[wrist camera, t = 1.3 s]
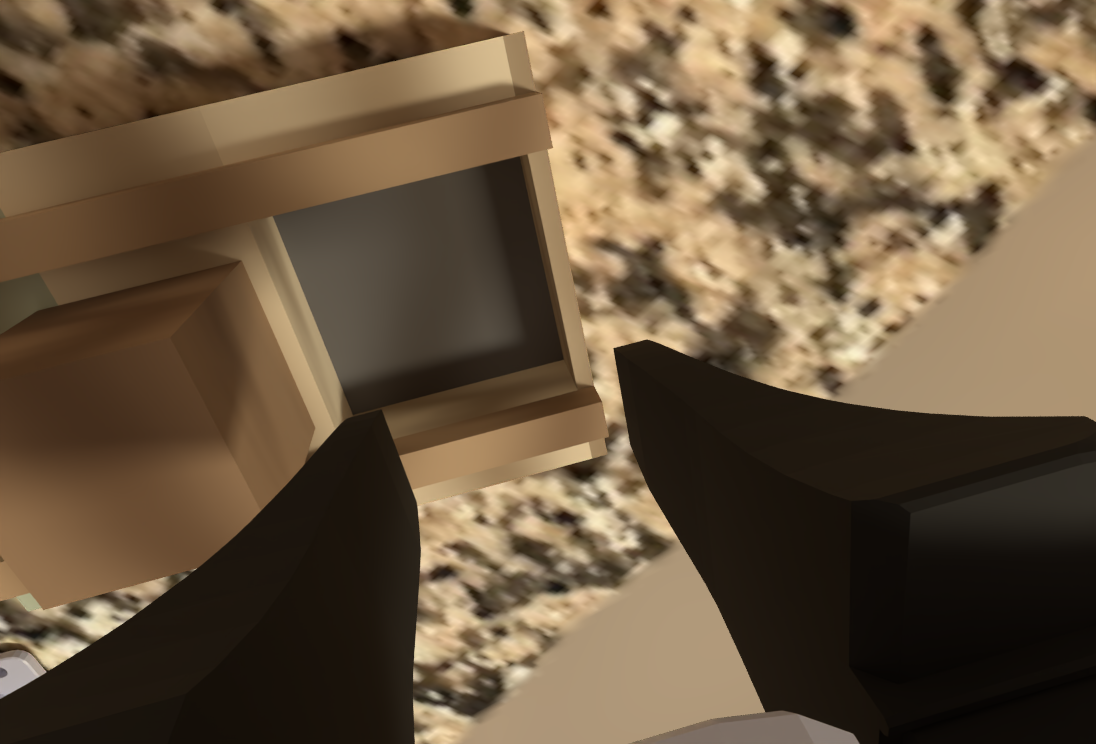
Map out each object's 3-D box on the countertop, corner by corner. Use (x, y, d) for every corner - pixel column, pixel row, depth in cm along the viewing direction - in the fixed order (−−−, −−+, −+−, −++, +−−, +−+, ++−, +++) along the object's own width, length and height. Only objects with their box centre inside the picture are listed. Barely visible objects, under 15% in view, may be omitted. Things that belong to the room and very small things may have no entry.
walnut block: (138, 474, 18) (43, 610, 14) (37, 310, 16) (-117, 409, 11) (315, 427, 18) (279, 545, 14) (241, 260, 16) (169, 337, 12)
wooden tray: (69, 554, 22) (8, 638, 18) (-191, 197, 16) (-339, 230, 13) (589, 415, 23) (615, 472, 19) (511, 34, 17) (529, 29, 14)
